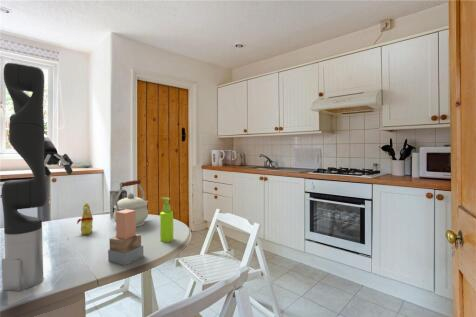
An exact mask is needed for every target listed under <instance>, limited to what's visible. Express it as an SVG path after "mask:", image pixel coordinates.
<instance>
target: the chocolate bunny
mask: <svg viewBox="0 0 476 317" xmlns="http://www.w3.org/2000/svg"><path fill="white" fill-rule="evenodd" d="M82 207H83V208H82V214H81V218H79V219H78V220H77V221H76V222H77V223H76V224H77V225H79V223H80V222H81V223H80V233H81V235H85V236H86V235H90V234H91V233H92V230H93V220H94V218H93V214H92V211H91V208H90V204H89V203H84V204H83V206H82Z"/></svg>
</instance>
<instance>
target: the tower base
mask: <svg viewBox="0 0 476 317" xmlns="http://www.w3.org/2000/svg"><path fill="white" fill-rule="evenodd" d="M107 254H108V256H107V258H108V259H107V260H108V262H113V263H117V264H120V265H124V266H125V265H128V264H130V263H132V262H134V261H136V260H138V259H140V258H142V257H143V256H144V245H143V244H141V246H139V247H137V248H135V249H133V250H131V251H129V252H127V253H122V252H117V251H112V250H110V248H108V251H107Z"/></svg>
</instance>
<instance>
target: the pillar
mask: <svg viewBox="0 0 476 317" xmlns="http://www.w3.org/2000/svg"><path fill="white" fill-rule="evenodd" d="M136 230H137V227H136V210H129V209H125V210H121V211H118V212H116V222H115V233H116V234H115V236H116V237H117V238H121V239H128V238H130V237H133V236H136V234H137V231H136Z"/></svg>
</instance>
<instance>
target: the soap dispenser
mask: <svg viewBox="0 0 476 317" xmlns="http://www.w3.org/2000/svg"><path fill="white" fill-rule="evenodd" d="M159 199H160V200H164V203H163V205H162V211H161V212H160V213H159V215H160V216H159V220H160V221H159V222H160V223H159V224H160V225H159V226H160V242H162V243H169V242H173V241H174V212H173V210H171V204H169V200H171V198H170V197H168V196H166V197H165V196H163V197H160V198H159Z"/></svg>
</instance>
